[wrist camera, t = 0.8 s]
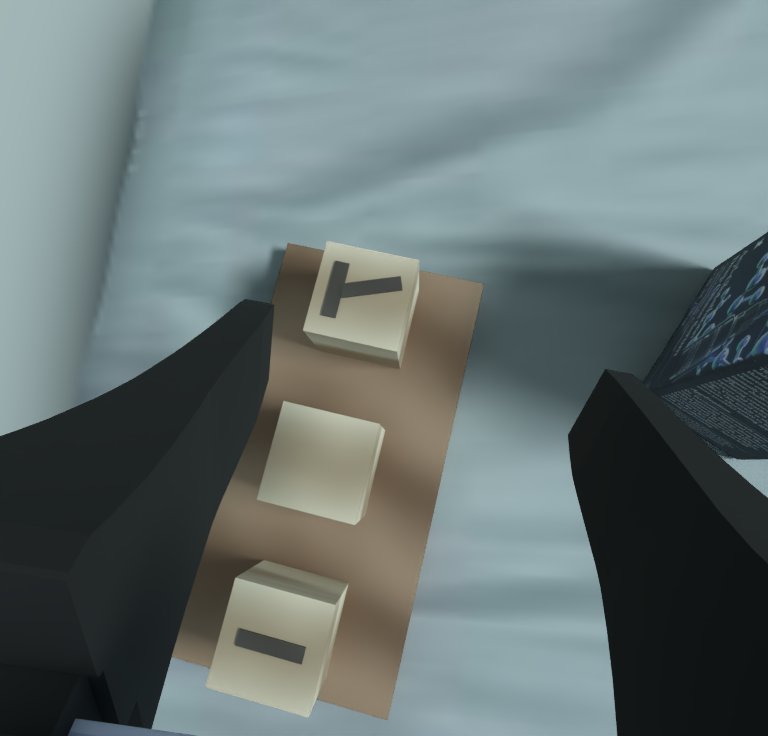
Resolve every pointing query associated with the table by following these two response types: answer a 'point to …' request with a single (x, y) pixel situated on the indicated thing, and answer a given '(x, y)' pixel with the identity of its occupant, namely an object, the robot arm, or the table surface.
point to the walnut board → (388, 493)
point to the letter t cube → (363, 304)
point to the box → (723, 358)
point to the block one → (278, 637)
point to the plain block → (322, 463)
